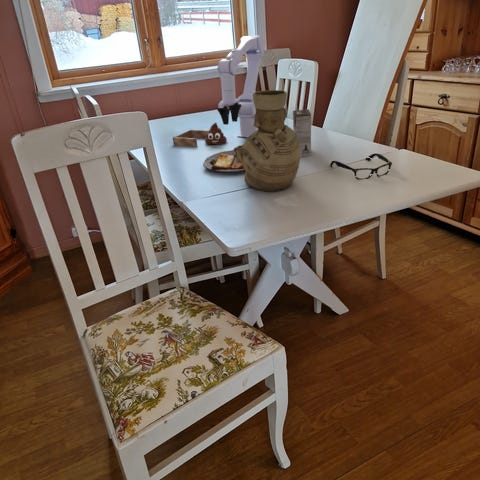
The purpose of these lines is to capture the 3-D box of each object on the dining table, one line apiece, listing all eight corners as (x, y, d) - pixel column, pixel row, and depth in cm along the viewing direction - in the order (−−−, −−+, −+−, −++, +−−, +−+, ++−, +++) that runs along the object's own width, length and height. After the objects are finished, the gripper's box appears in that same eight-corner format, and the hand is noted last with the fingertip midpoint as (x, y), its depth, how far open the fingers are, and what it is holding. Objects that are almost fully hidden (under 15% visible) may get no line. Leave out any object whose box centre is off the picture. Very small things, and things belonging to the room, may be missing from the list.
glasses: (351, 185, 137) (352, 171, 134) (327, 167, 152) (327, 154, 149) (396, 177, 140) (398, 163, 138) (368, 160, 155) (369, 147, 152)
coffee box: (293, 150, 172) (292, 110, 165) (308, 149, 172) (308, 109, 164) (295, 156, 164) (294, 115, 157) (311, 155, 164) (311, 114, 156)
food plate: (259, 176, 149) (258, 166, 148) (197, 176, 154) (196, 167, 153) (269, 154, 171) (268, 146, 169) (214, 155, 176) (213, 147, 174)
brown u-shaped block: (213, 138, 200) (212, 130, 199) (196, 146, 189) (195, 139, 188) (191, 136, 206) (190, 129, 204) (173, 145, 195) (172, 137, 193)
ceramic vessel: (234, 179, 148) (226, 90, 134) (293, 172, 149) (291, 83, 135) (240, 199, 131) (231, 101, 117) (306, 192, 132) (305, 93, 118)
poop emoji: (227, 140, 195) (225, 119, 191) (225, 145, 188) (223, 124, 183) (206, 141, 197) (204, 121, 192) (203, 146, 189) (201, 125, 185)
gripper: (229, 88, 185) (230, 119, 191) (211, 92, 174) (213, 125, 179) (243, 88, 182) (244, 120, 187) (225, 92, 170) (227, 126, 176)
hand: (230, 122), depth 183 cm, fingers open, 7 cm apart
